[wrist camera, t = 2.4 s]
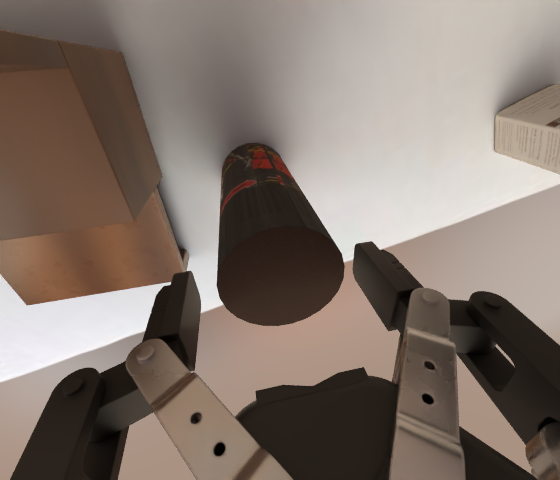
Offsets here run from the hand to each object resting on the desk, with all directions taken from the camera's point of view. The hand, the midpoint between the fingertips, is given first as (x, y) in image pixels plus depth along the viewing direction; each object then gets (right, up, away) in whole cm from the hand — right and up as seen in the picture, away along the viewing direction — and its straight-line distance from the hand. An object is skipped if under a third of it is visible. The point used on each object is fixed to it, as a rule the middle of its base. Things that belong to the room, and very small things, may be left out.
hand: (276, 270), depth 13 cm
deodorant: (-2, +8, +12) cm, 14 cm away
